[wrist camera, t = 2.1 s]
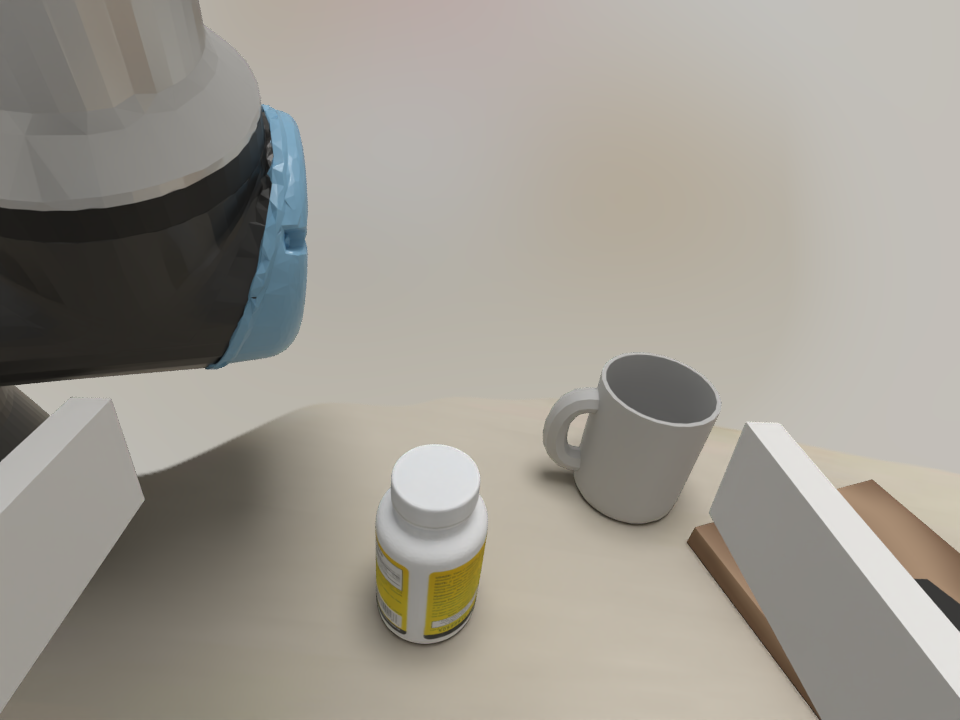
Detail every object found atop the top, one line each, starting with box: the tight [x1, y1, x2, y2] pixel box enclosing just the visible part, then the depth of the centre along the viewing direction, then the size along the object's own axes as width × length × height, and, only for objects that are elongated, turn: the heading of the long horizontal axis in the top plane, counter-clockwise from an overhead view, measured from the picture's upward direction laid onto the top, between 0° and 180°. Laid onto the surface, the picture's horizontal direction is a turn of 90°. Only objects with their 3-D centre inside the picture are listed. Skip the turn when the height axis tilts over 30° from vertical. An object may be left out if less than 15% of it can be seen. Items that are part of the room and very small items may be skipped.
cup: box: [543, 352, 722, 524], centre depth 35 cm, size 7×10×9 cm
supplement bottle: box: [375, 444, 488, 644], centre depth 27 cm, size 5×5×10 cm
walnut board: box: [687, 480, 960, 720], centre depth 32 cm, size 16×12×2 cm
